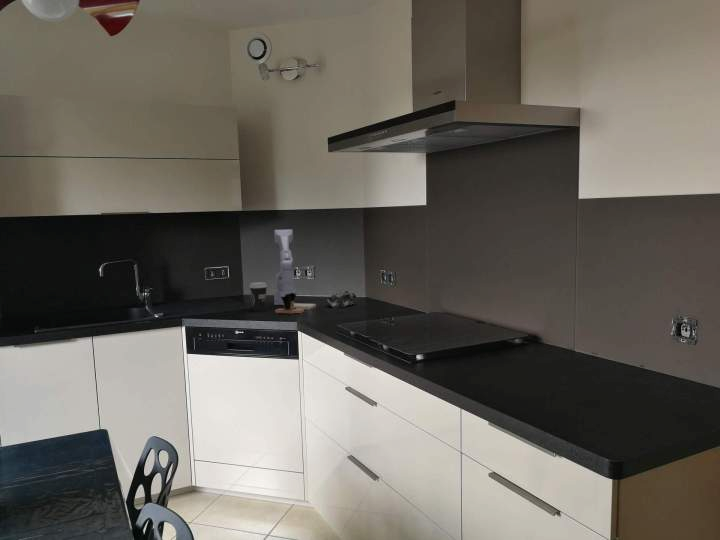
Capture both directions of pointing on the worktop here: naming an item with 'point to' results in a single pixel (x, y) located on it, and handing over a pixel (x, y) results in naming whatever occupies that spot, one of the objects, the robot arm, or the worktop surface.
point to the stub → (291, 310)
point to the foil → (341, 300)
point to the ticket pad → (303, 306)
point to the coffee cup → (258, 296)
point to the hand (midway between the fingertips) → (289, 308)
